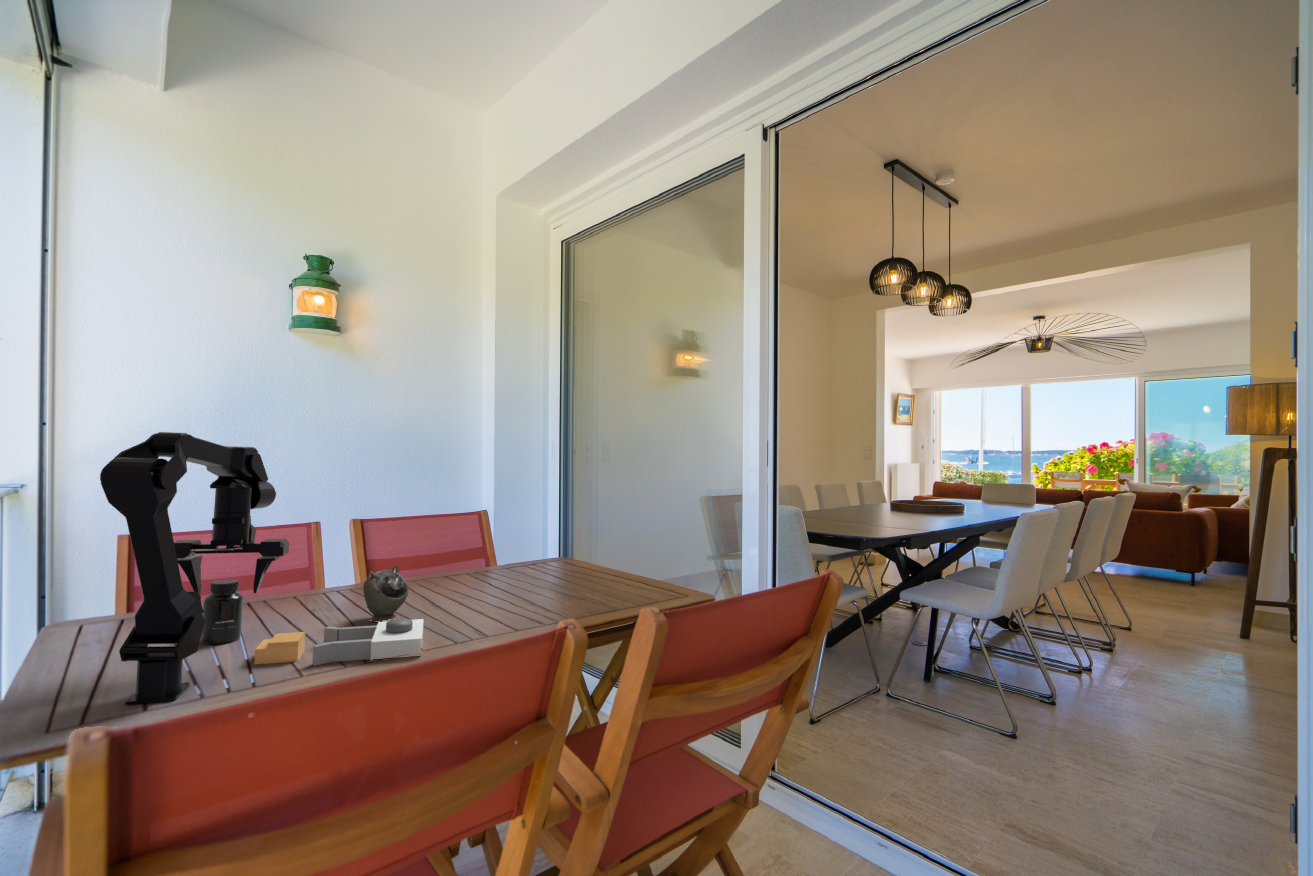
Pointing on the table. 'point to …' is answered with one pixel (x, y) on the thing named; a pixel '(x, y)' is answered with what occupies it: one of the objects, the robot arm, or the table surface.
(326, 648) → the forked block with knob
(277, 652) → the orange stepped block
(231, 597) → the supplement bottle
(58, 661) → the table surface
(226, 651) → the table surface
